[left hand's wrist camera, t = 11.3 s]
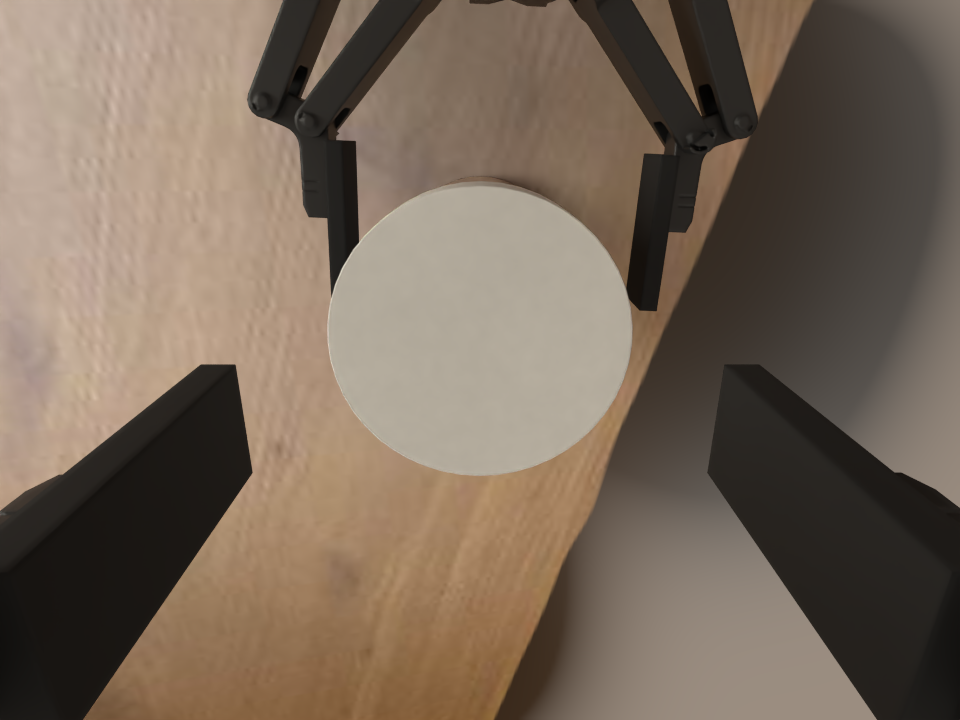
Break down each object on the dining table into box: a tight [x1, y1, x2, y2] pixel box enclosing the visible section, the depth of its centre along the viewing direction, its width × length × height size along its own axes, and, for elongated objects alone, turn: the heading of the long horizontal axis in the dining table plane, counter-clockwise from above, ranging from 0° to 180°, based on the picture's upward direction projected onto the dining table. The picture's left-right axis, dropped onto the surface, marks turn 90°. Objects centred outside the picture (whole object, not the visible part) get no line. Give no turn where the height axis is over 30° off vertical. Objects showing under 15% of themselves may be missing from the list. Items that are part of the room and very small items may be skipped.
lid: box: [328, 181, 633, 476], centre depth 19 cm, size 9×9×2 cm
